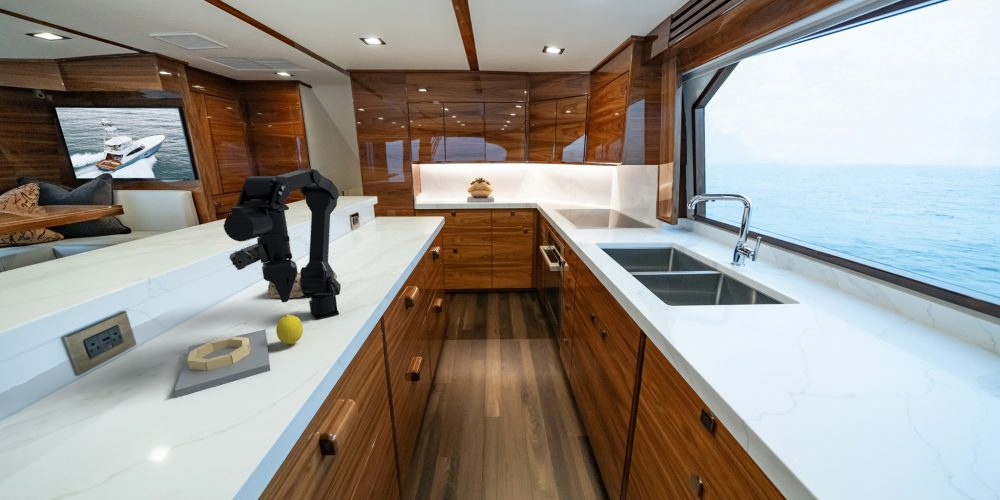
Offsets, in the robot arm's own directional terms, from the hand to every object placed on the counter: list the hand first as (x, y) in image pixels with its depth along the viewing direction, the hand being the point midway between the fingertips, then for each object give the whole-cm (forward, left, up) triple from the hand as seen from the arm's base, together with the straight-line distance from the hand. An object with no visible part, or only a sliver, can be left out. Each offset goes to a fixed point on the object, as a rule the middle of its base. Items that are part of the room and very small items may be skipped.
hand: (283, 296), depth 80 cm
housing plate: (+12, 0, -13) cm, 18 cm away
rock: (-8, -40, -13) cm, 43 cm away
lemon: (0, 0, -13) cm, 13 cm away
